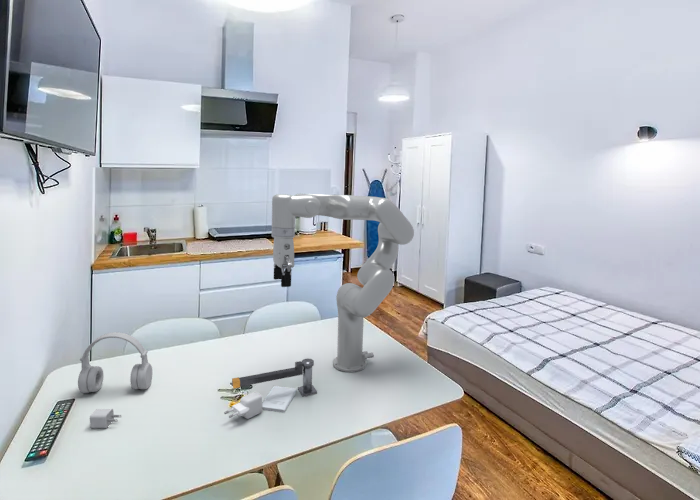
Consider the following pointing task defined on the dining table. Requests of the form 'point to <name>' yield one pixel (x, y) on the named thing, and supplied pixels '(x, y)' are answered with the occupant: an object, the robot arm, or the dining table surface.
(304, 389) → the post
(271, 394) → the external hard drive
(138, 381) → the headphones
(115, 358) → the dining table surface
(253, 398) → the power adapter
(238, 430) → the dining table surface
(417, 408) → the dining table surface
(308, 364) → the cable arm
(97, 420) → the usb wall charger
